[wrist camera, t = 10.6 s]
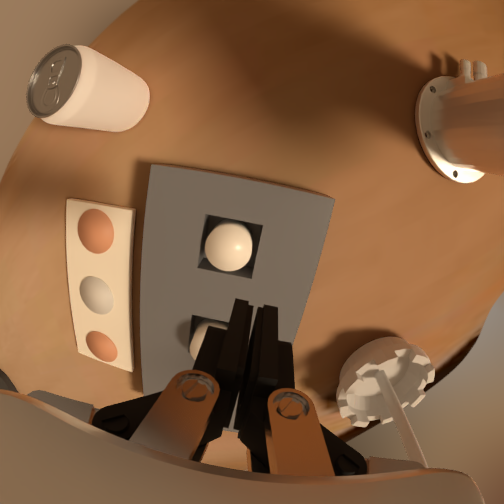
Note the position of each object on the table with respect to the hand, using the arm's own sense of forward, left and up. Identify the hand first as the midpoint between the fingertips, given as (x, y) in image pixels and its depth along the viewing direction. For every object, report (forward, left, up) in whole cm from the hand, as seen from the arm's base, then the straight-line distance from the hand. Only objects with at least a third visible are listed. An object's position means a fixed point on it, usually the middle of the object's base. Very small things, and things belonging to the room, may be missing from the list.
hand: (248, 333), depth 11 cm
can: (-11, -16, -18) cm, 26 cm away
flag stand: (+15, +20, -18) cm, 30 cm away
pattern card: (+11, -17, -17) cm, 27 cm away
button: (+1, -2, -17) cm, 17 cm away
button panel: (+11, -2, -17) cm, 21 cm away
